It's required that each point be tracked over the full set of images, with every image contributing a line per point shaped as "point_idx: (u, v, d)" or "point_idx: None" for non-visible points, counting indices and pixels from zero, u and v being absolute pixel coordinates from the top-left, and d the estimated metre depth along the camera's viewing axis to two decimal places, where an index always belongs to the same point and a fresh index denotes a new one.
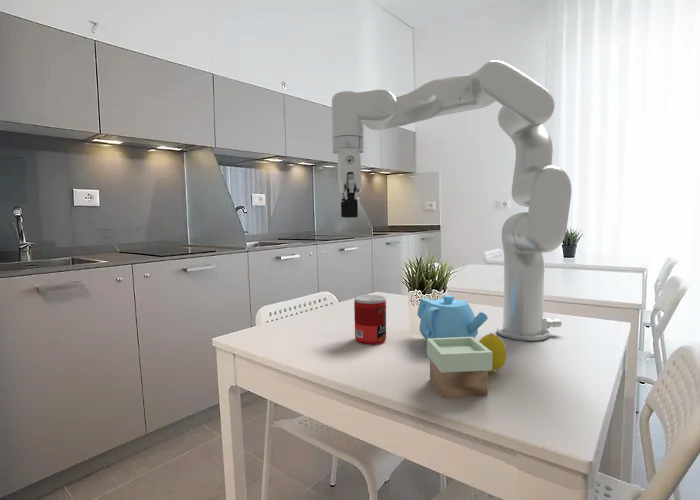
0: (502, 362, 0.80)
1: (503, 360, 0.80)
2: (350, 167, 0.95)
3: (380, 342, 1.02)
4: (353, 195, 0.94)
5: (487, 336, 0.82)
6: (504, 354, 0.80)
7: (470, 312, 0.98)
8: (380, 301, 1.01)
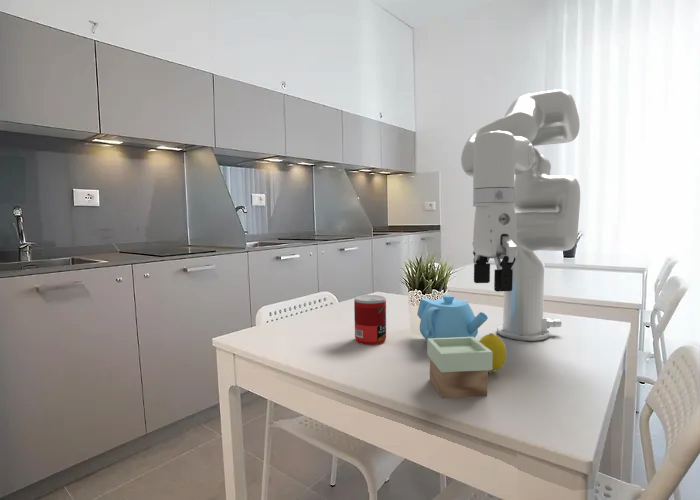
0: (502, 362, 0.80)
1: (503, 360, 0.80)
2: (505, 228, 0.75)
3: (380, 342, 1.02)
4: (511, 265, 0.74)
5: (487, 336, 0.82)
6: (504, 354, 0.80)
7: (470, 312, 0.98)
8: (380, 301, 1.01)
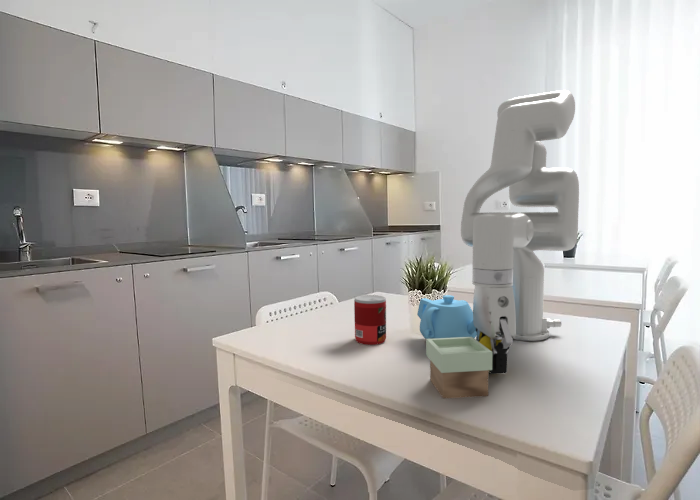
0: None
1: None
2: (503, 311, 0.76)
3: (380, 342, 1.02)
4: (505, 350, 0.77)
5: (487, 336, 0.82)
6: None
7: (470, 312, 0.98)
8: (380, 301, 1.01)
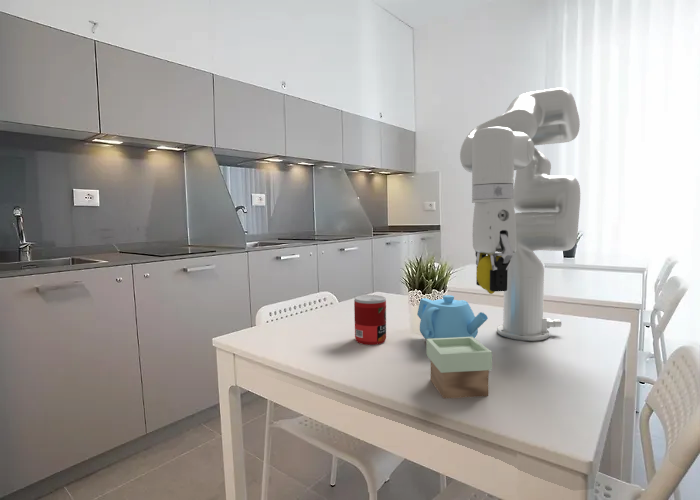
0: None
1: None
2: (504, 224, 0.75)
3: (380, 342, 1.02)
4: (506, 265, 0.75)
5: (487, 256, 0.80)
6: None
7: (470, 312, 0.98)
8: (380, 301, 1.01)
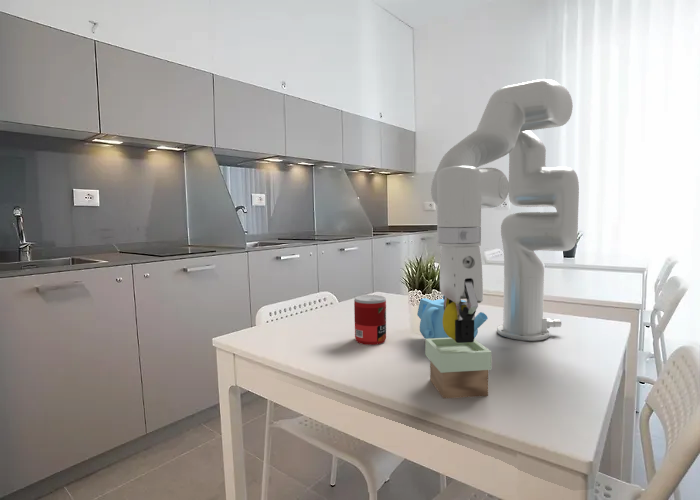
0: None
1: None
2: (469, 272, 0.69)
3: (380, 342, 1.02)
4: (471, 316, 0.70)
5: (453, 302, 0.74)
6: None
7: None
8: (380, 301, 1.01)
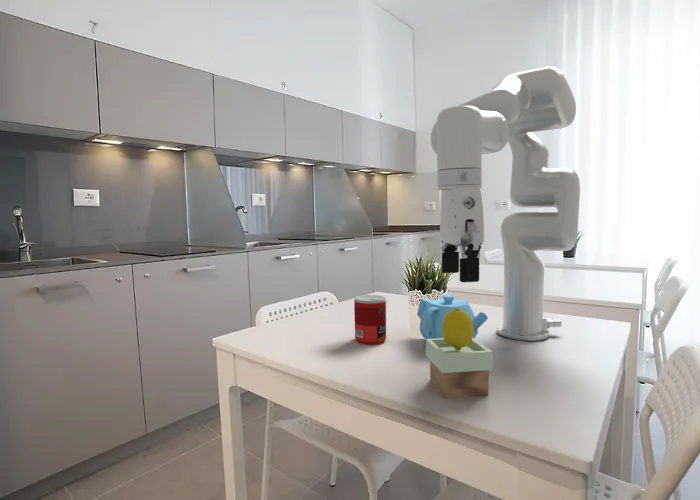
0: (468, 339, 0.73)
1: (469, 336, 0.73)
2: (470, 213, 0.68)
3: (380, 342, 1.02)
4: (476, 253, 0.67)
5: (452, 311, 0.74)
6: (471, 330, 0.73)
7: (470, 312, 0.98)
8: (380, 301, 1.01)
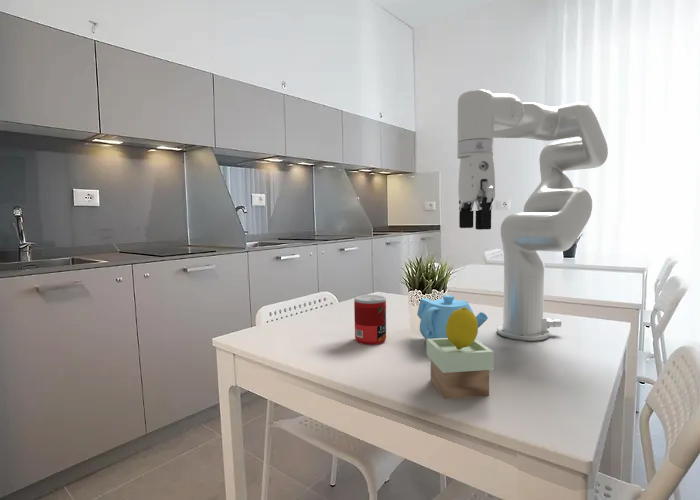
0: (471, 339, 0.73)
1: (473, 337, 0.73)
2: (484, 174, 0.86)
3: (380, 342, 1.02)
4: (489, 205, 0.85)
5: (459, 310, 0.74)
6: (475, 331, 0.73)
7: None
8: (380, 301, 1.01)
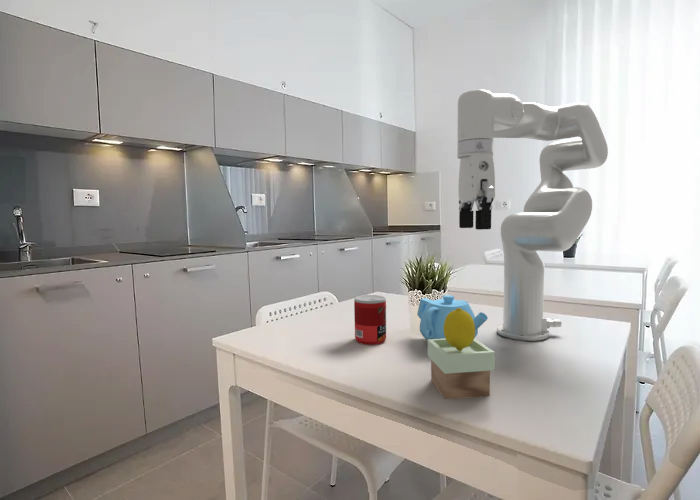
0: (469, 339, 0.73)
1: (470, 337, 0.72)
2: (484, 174, 0.86)
3: (380, 342, 1.02)
4: (489, 205, 0.85)
5: (454, 311, 0.74)
6: (471, 331, 0.73)
7: (470, 312, 0.98)
8: (380, 301, 1.01)
